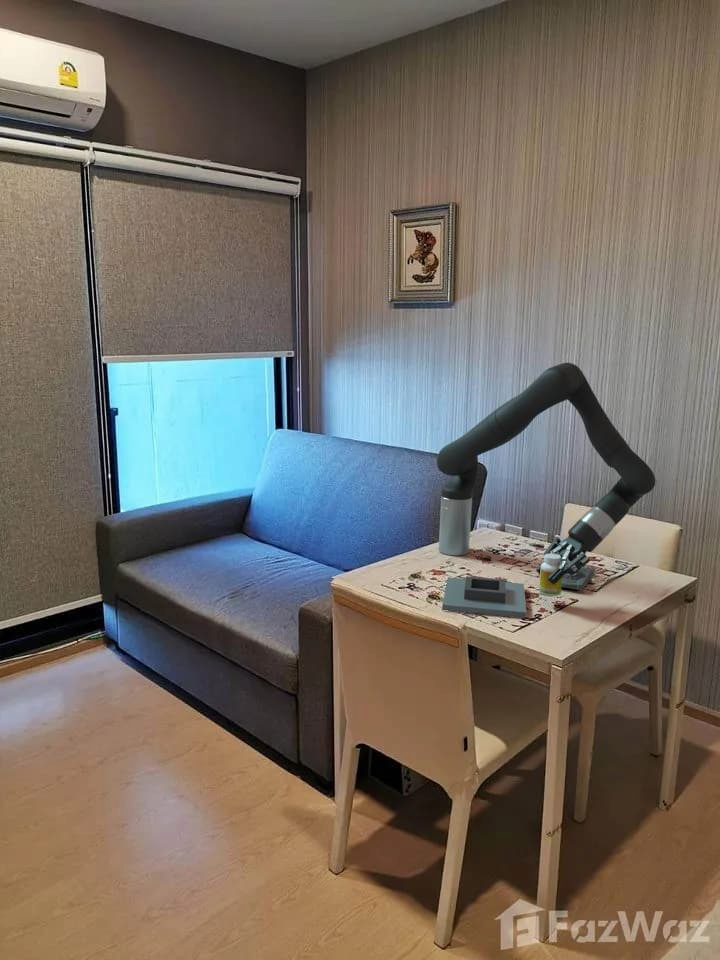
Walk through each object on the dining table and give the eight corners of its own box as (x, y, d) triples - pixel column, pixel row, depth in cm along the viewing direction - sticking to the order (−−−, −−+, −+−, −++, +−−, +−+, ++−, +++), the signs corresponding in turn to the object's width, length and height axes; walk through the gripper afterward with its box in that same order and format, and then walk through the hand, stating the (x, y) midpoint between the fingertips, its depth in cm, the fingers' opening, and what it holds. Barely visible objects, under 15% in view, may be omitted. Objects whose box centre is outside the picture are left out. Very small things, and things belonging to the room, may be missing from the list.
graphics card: (554, 558, 214) (597, 565, 208) (553, 571, 214) (596, 577, 209) (538, 576, 199) (584, 583, 194) (537, 589, 200) (583, 597, 194)
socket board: (447, 582, 201) (448, 568, 200) (523, 589, 197) (524, 574, 196) (442, 610, 181) (442, 595, 181) (525, 618, 178) (527, 602, 177)
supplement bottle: (561, 597, 183) (565, 560, 181) (539, 595, 184) (542, 558, 182) (559, 589, 188) (563, 553, 186) (538, 588, 189) (541, 551, 187)
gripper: (568, 511, 191) (522, 558, 190) (599, 527, 177) (549, 578, 177) (584, 530, 193) (539, 576, 193) (616, 547, 180) (567, 597, 179)
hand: (544, 577), depth 185 cm, fingers closed on supplement bottle, 5 cm apart
